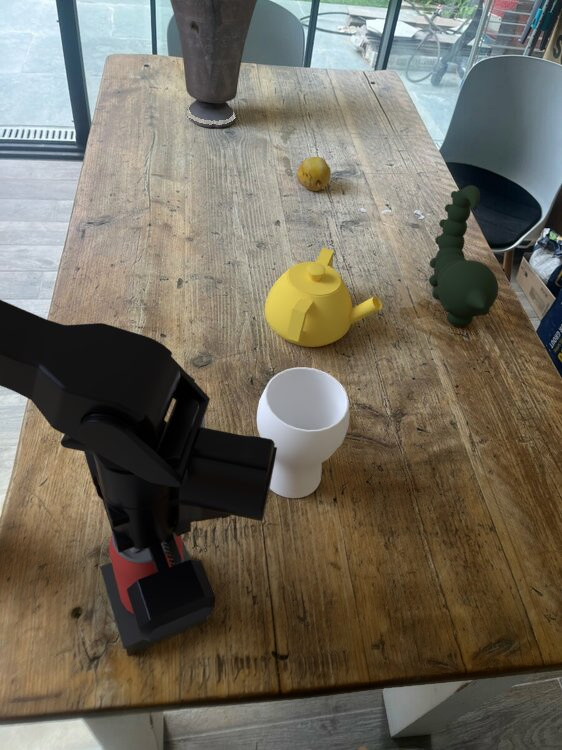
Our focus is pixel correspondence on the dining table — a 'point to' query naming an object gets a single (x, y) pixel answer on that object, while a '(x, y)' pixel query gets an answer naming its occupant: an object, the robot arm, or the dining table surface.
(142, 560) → the beer can
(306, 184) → the fruit
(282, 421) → the cup
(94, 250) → the dining table surface
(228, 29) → the vase
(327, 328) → the teapot
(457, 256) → the toy figurine
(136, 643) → the block
